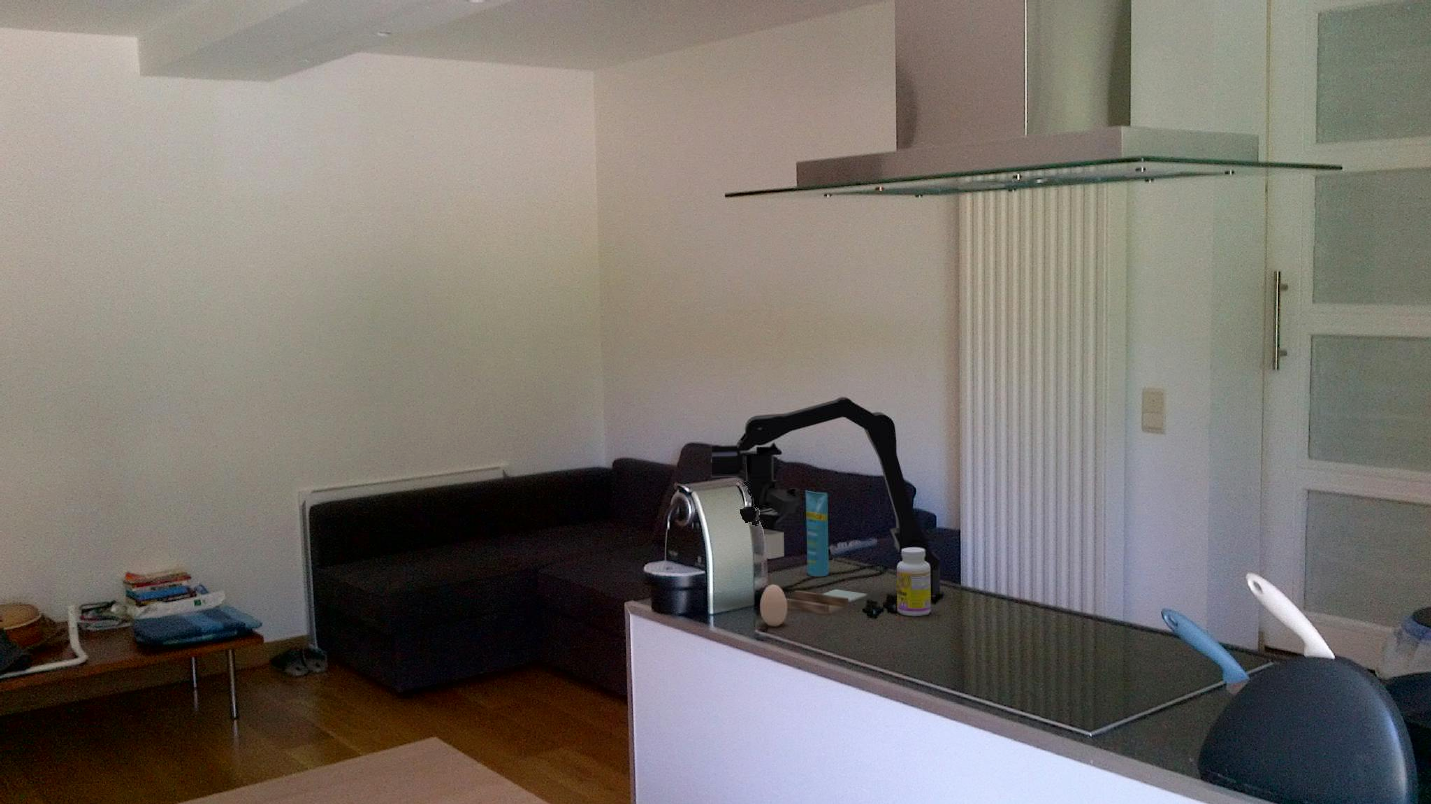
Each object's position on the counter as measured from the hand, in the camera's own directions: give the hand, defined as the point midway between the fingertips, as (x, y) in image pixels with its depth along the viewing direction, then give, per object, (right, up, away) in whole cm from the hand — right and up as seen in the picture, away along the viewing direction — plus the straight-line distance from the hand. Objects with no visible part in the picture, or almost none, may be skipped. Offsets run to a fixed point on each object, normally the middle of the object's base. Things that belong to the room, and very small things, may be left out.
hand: (761, 549), depth 266 cm
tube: (+14, -9, +23) cm, 28 cm away
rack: (+10, -11, -7) cm, 16 cm away
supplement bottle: (+30, -11, -13) cm, 35 cm away
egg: (+2, -13, -21) cm, 25 cm away
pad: (+17, -10, 0) cm, 20 cm away
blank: (+1, -1, -1) cm, 2 cm away
